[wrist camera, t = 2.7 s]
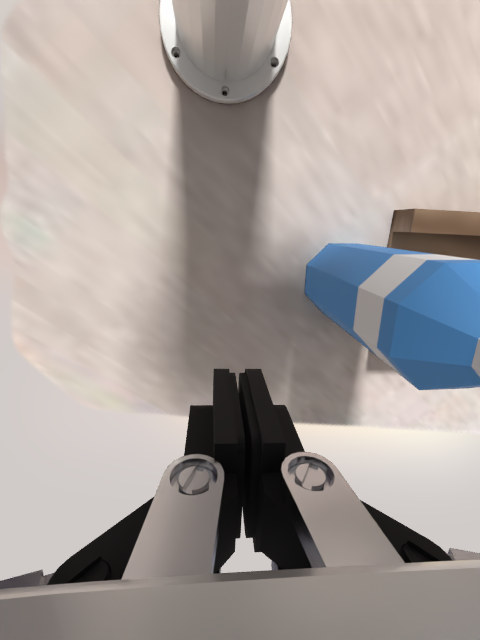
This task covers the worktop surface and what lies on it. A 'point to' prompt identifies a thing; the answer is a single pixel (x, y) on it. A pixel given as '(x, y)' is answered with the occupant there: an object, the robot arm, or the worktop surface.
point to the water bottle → (404, 309)
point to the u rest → (436, 232)
